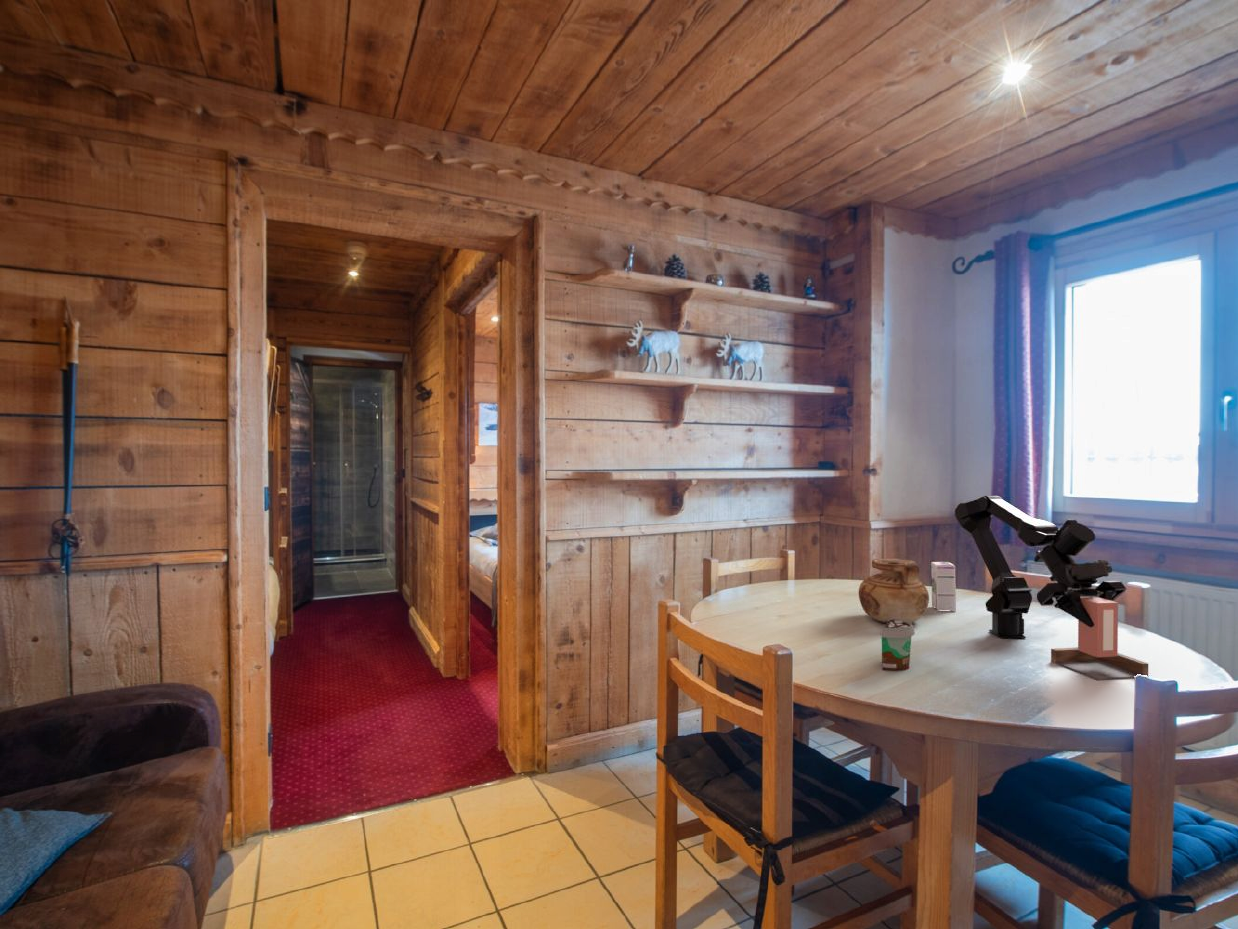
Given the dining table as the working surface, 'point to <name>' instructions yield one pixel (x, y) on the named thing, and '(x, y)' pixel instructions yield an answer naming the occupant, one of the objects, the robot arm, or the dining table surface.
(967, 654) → the dining table surface
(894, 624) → the food container
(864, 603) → the clay pot
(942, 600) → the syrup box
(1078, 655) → the tray
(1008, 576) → the robot arm
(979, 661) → the dining table surface
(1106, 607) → the red block
